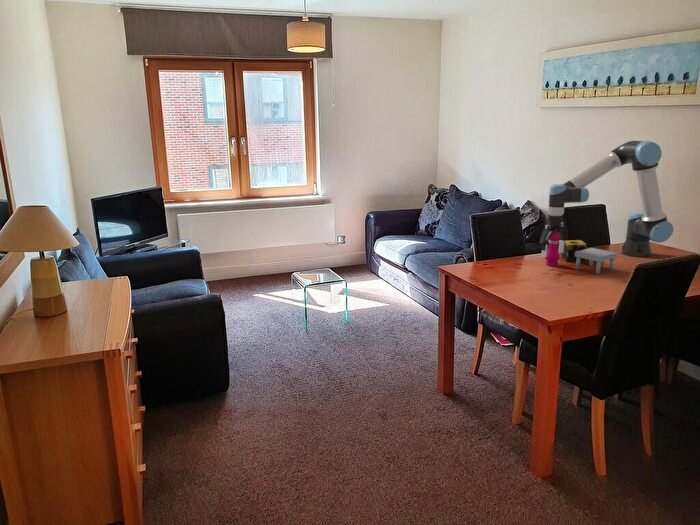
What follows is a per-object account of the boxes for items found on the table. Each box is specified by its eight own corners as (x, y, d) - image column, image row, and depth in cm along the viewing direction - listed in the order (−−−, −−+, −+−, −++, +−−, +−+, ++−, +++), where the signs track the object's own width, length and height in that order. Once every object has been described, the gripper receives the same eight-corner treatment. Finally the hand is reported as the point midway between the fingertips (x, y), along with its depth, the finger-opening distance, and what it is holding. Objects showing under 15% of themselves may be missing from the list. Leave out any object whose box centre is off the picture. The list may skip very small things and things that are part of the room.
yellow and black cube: (579, 257, 287) (581, 240, 285) (585, 262, 278) (587, 244, 275) (560, 257, 288) (562, 240, 286) (566, 262, 279) (567, 244, 276)
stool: (590, 264, 273) (591, 247, 271) (615, 270, 262) (617, 252, 260) (573, 268, 266) (575, 251, 264) (598, 274, 255) (600, 257, 253)
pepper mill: (557, 267, 269) (560, 230, 264) (543, 265, 273) (545, 228, 268) (560, 264, 275) (563, 227, 270) (546, 262, 279) (548, 226, 274)
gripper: (564, 211, 276) (561, 249, 282) (533, 216, 264) (530, 256, 269) (577, 212, 270) (573, 252, 276) (545, 218, 258) (542, 259, 263)
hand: (552, 254), depth 272 cm, fingers open, 13 cm apart
